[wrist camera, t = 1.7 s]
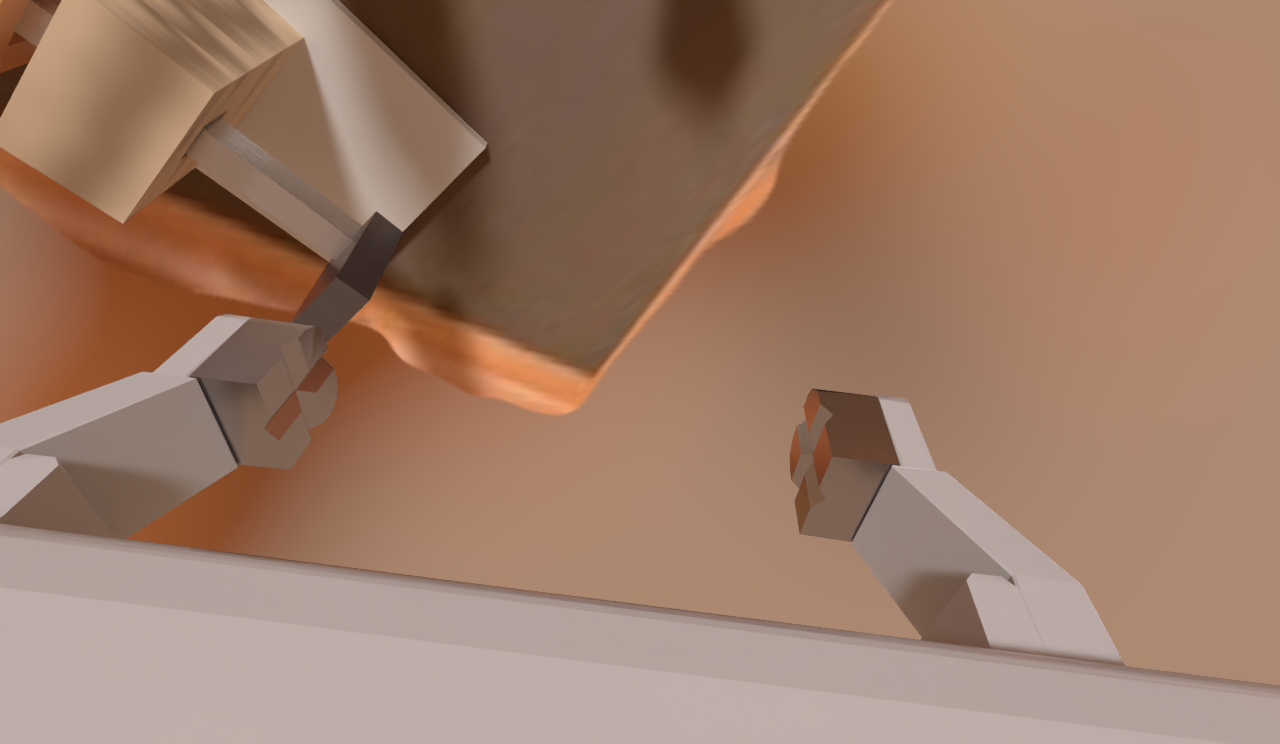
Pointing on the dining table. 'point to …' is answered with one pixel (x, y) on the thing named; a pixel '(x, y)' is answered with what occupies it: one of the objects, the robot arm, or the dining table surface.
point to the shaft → (284, 208)
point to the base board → (355, 121)
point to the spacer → (13, 36)
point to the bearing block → (138, 91)
